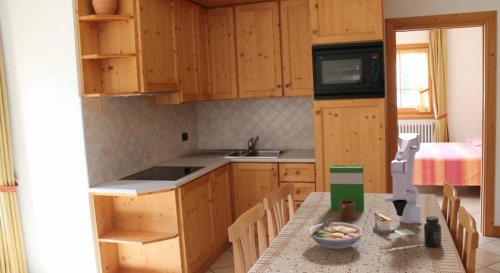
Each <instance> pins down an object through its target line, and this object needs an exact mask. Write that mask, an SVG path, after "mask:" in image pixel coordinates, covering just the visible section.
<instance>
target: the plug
mask: <svg viewBox="0 0 500 273" xmlns="http://www.w3.org/2000/svg"><path fill="white" fill-rule="evenodd" d="M390 223H391V221H387V220H385V219H383V218H381V217H378V218H377V226H378V229H379V230H381V231H384V230H390Z"/></svg>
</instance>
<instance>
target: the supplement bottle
mask: <svg viewBox="0 0 500 273" xmlns="http://www.w3.org/2000/svg"><path fill="white" fill-rule="evenodd" d="M425 220H426V221H425V224H424V225H423V236H424V237H423V240H424V243H423V244H424V245H425V246H426V247H428V248H440V247H441V246H442V245H443V244H442V242H443V241H442V237H443V236H442V226H441V224H440V222H439V221H440V220H439V217H438V216H433V215H429V216H426V219H425Z"/></svg>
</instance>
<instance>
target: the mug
mask: <svg viewBox="0 0 500 273" xmlns="http://www.w3.org/2000/svg"><path fill="white" fill-rule="evenodd" d="M339 219H340V221H341V222H342V223H346V222H351V221H356V211H355V203H354V202H353V201H341V202H340V210H339Z"/></svg>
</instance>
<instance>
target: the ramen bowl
mask: <svg viewBox="0 0 500 273" xmlns="http://www.w3.org/2000/svg"><path fill="white" fill-rule="evenodd" d="M334 221H335V219H334V218H332V219H331V218H327V220H325V222H323V223H319V224H316V225H314V226H311V227H310V229H309V230H308V232H309V233H310V236H309V238H312V239H313V241H314V242H316V243H317V244H318V245H319V246H321V247H324V248H328V249H329V250H333V251H339V250H343V249H347V248H350V247H351V246H353V245H355V244H356V243H357V242H358V241H359V240H360V238H361V236H362V234H363V230H364V229H363V228H362V227H359V226H358V225H355V224H351V223H346V222H334ZM362 229H363V230H362Z"/></svg>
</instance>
